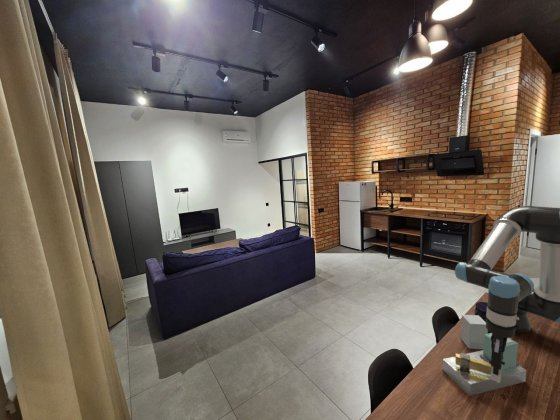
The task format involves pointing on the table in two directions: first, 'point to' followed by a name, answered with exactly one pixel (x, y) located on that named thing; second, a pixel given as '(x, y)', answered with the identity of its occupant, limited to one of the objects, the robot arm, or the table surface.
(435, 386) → the table surface
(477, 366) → the hammer with yellow handle
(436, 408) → the table surface
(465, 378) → the white base platform
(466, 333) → the supplement box
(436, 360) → the table surface
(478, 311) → the storage jar
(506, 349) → the mint green box
